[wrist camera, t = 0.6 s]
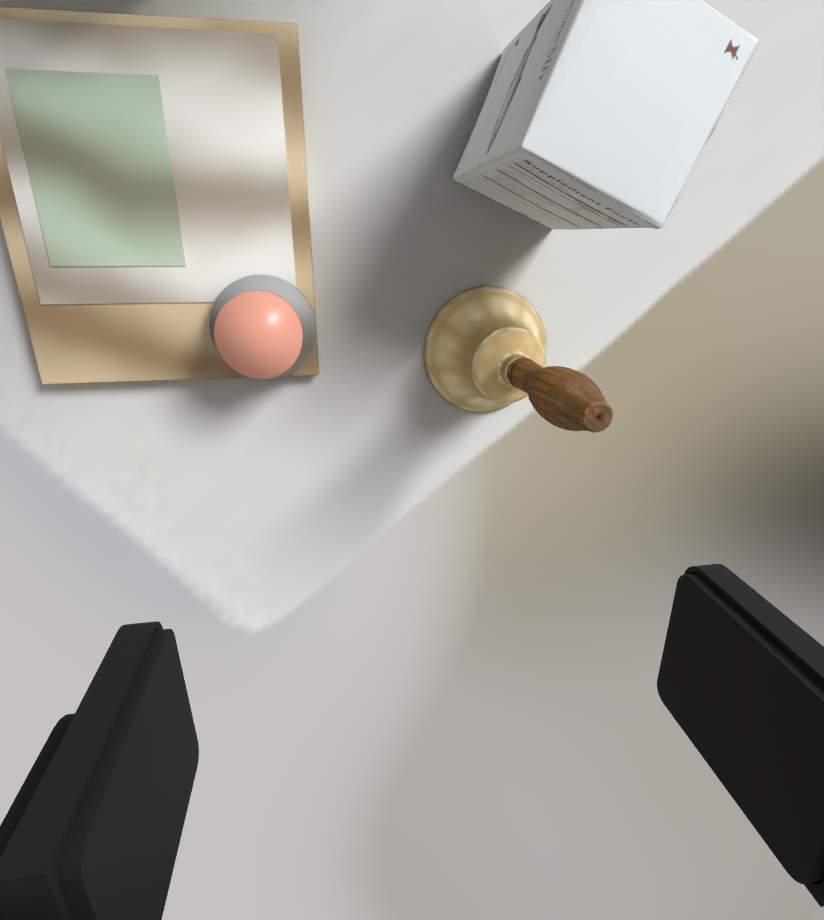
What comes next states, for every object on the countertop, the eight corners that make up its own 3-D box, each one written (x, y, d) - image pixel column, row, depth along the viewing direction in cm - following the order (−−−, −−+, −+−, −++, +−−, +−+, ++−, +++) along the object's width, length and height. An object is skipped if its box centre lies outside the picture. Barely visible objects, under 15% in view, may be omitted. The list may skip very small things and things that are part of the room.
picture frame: (-41, 12, 26) (-69, -5, 25) (297, 30, 29) (295, 15, 27) (50, 379, 33) (34, 388, 31) (319, 371, 35) (318, 378, 33)
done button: (213, 290, 30) (208, 292, 28) (299, 289, 30) (298, 291, 29) (224, 374, 31) (219, 380, 30) (305, 371, 32) (305, 377, 31)
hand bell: (431, 279, 34) (513, 307, 20) (555, 291, 36) (718, 326, 21) (417, 407, 37) (480, 515, 23) (532, 413, 39) (661, 518, 24)
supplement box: (502, 44, 30) (614, -79, 19) (610, 111, 32) (771, 38, 21) (446, 180, 32) (516, 146, 21) (551, 235, 34) (668, 231, 23)
